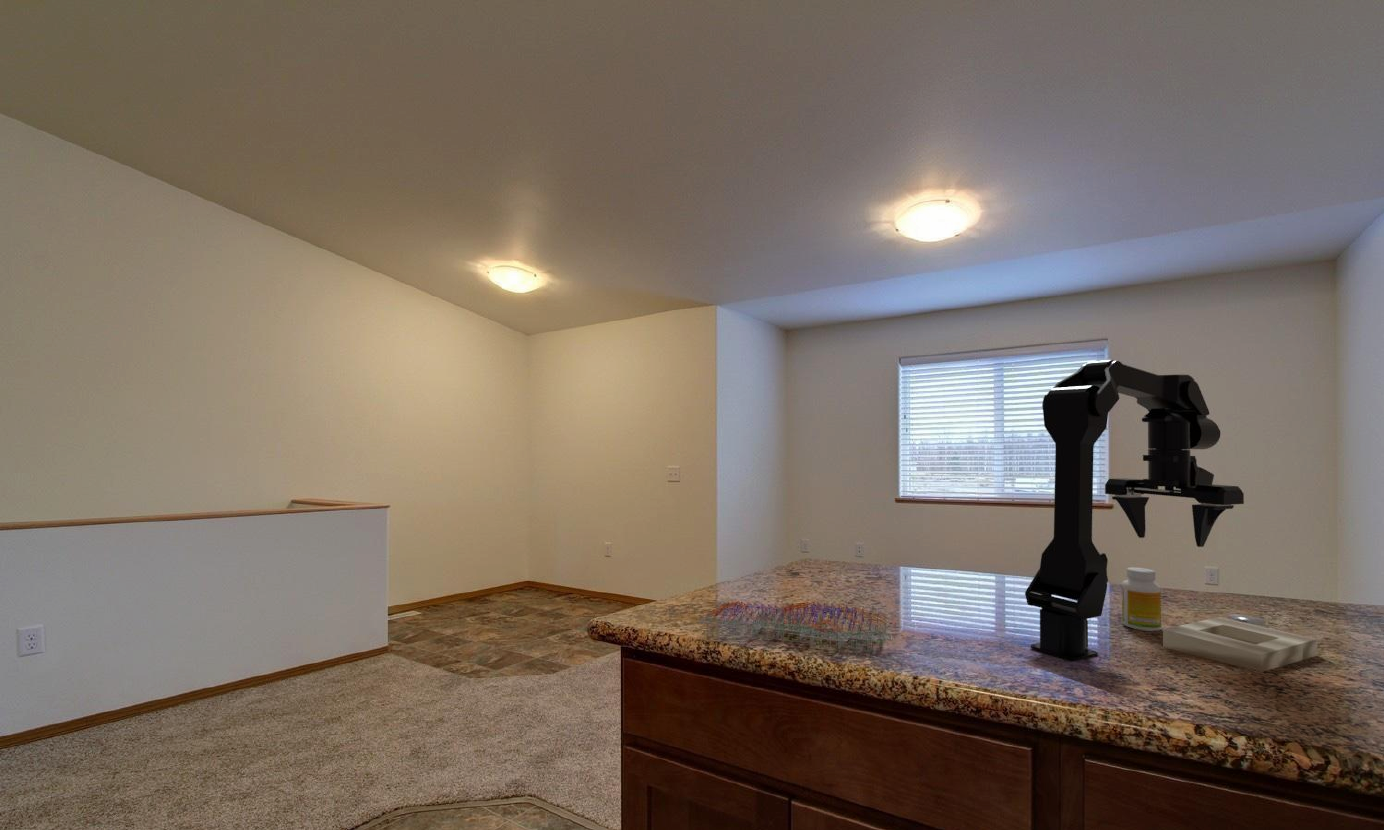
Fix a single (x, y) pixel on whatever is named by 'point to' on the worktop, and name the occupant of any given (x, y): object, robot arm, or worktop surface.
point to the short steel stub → (1248, 619)
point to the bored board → (1240, 643)
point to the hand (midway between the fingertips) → (1169, 541)
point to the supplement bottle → (1141, 600)
